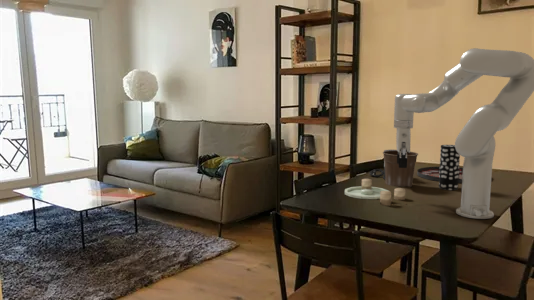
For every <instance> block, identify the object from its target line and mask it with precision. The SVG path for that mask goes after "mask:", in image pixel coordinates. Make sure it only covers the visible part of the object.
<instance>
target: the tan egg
mask: <svg viewBox="0 0 534 300" xmlns="http://www.w3.org/2000/svg"><path fill="white" fill-rule="evenodd" d="M393 193H394V194H393V199H394V200H395V201H405V200H406V189H405V188H401V187H398V188H397V187H396V188H394V190H393Z"/></svg>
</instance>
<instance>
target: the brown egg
mask: <svg viewBox="0 0 534 300" xmlns="http://www.w3.org/2000/svg"><path fill="white" fill-rule="evenodd" d="M392 194H393V193H392V191H390V190H388V191H381V192H380V199H379V200H380V201H379V202H380V203H379V205H381V206H391V205H392V196H393V195H392Z"/></svg>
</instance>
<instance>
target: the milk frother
mask: <svg viewBox="0 0 534 300" xmlns="http://www.w3.org/2000/svg"><path fill="white" fill-rule="evenodd" d="M384 151H397V149H384V150H383V152H384ZM383 162H384V163H383V169H381V168H374V169H372V170H370V171H369V175H370V176H372V177H374V178H375V177H376V178H380V177H382V176H383V180H386V178H385V161H384V160H383ZM377 172H380V174H377Z"/></svg>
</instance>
